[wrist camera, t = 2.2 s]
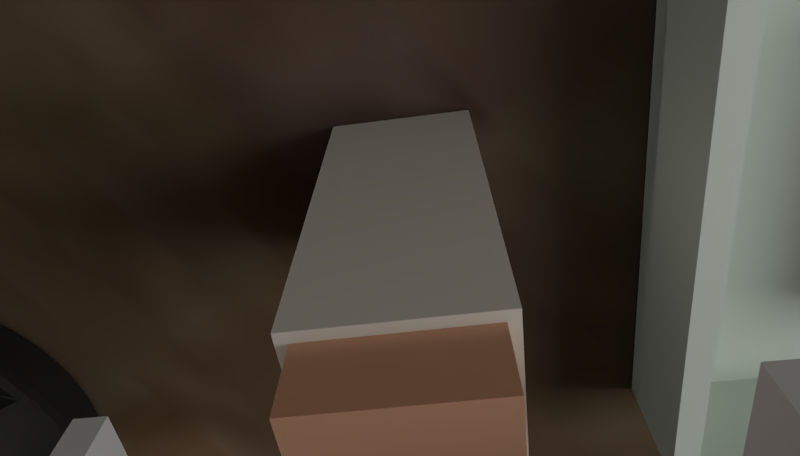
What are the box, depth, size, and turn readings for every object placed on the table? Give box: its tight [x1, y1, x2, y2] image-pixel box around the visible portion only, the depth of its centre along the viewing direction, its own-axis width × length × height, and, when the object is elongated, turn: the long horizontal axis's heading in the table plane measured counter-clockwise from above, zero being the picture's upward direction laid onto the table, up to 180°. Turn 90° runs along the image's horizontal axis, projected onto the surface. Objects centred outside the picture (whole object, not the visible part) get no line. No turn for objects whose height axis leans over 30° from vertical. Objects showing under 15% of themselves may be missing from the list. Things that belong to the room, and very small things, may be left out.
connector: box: [269, 110, 529, 456], centre depth 18 cm, size 5×5×14 cm
